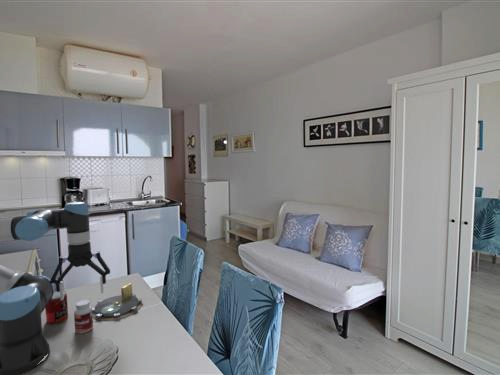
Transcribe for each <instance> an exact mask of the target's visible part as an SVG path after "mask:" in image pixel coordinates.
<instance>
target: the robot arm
mask: <svg viewBox="0 0 500 375" xmlns="http://www.w3.org/2000/svg"><path fill="white" fill-rule="evenodd" d="M60 229H66V239H67V251H68V252H67V254H68V256H64V255H61V256H59V258H58V264H57V267H56V269H55V270H54V271H53V272H54V273H53V274H52V276H51V278H50V277H48V276H46V275H41V274H38V275H37V274H36V275H33V274H31V273H29V272H28V271H21V272H17V271H15V270H13V269H10V268H8V267H7V266H5V265H2V264H0V375H21V374H23V373H27V372H28V371H31V370H32V369H35V368H36V367H37V366H36V365H37V364H38V363H39V362H40V361H41V360H42V359H43V358H44V356H46V355H47V354H49V353H50V354H51V350H50V344H49V342H48V340H47V338H46V336H45V335H44V332H43V327H42V325H43V324H42V314H43V312H44V311H45V307H46V306H47V304H48V303H49V302H50V301H51V299H52V297H53V294H54V291H57V292H60V300H61V301H62V300H63V299H64V291H65V290H64V281H63V279H64V278H65V276H67V274H69V272H70V271H71V269H72V268H73V267H74V268H79V267H85V266H86V265H87V266H89V267H91V269H93V270H94V271H95V272H96V273H98V274H99V275H100V276H99V281H100V283H99V284H100V293H101V294H103V293H104V285H105V284H106V283H107V278H106V277H107V275H110V273H111V269H110V267H109V266H108V265H107V263H106V262H105V260H104V259H103V258H102V256H101V251H96V252H94V253H92V251H91V250H92V247H91V241H90V240H91V235H90V234H91V233H90V213H89V208H88V204H87V202H84V201H75V202H67V203H65V205H64V207H63V208H58V209H57V208H54V209H53V208H52V209H36V210H30V211H28V212H27V213H26V215H23V216H14V217H11V216H10V217H3V218H2V217H1V218H0V243H2V242H12V241H20V240H23V241H27V242H32V241H35V240H38V239H41V238H42V237H43V236H44V235H45V234H47V233H48V232H50V231H52V230H60ZM93 257H94V258H95V259H97V262H99V264H100V266H101V267H102V268H103V269H104V270H103V269H102V268H101V267H100V266H99V265H97V264H96V263H95V262H94V261H93V260H92V258H93ZM66 261H68V262H69V264H68V266H67V267H66V268H65V269H64V271H62V273H61V274H60V275H59V277H58V278H57V276H58V274H59V272H60V270H61V268H62V266H63V264H65V263H66ZM55 287H56V288H55ZM50 354H49V355H50ZM35 366H36V367H35ZM34 367H35V368H34Z"/></svg>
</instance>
